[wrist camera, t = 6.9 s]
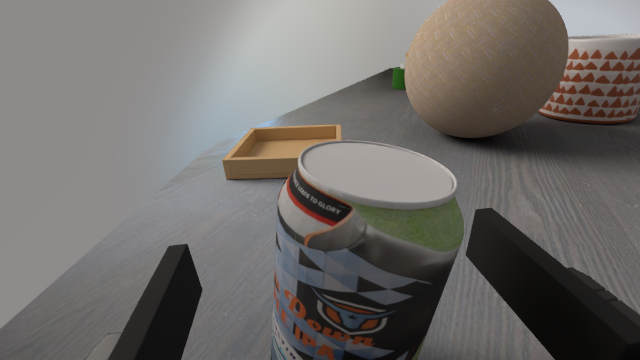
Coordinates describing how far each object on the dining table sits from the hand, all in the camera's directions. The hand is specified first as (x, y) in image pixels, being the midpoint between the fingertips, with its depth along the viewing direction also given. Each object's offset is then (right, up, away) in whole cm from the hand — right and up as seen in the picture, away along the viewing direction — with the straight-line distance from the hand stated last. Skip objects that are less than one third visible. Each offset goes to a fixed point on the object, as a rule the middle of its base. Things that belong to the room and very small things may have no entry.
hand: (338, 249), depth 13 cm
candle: (+26, +31, +74) cm, 85 cm away
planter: (+47, +15, +39) cm, 63 cm away
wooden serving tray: (-5, +7, +28) cm, 29 cm away
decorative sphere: (+22, +10, +33) cm, 41 cm away
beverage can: (+1, -7, +1) cm, 7 cm away
